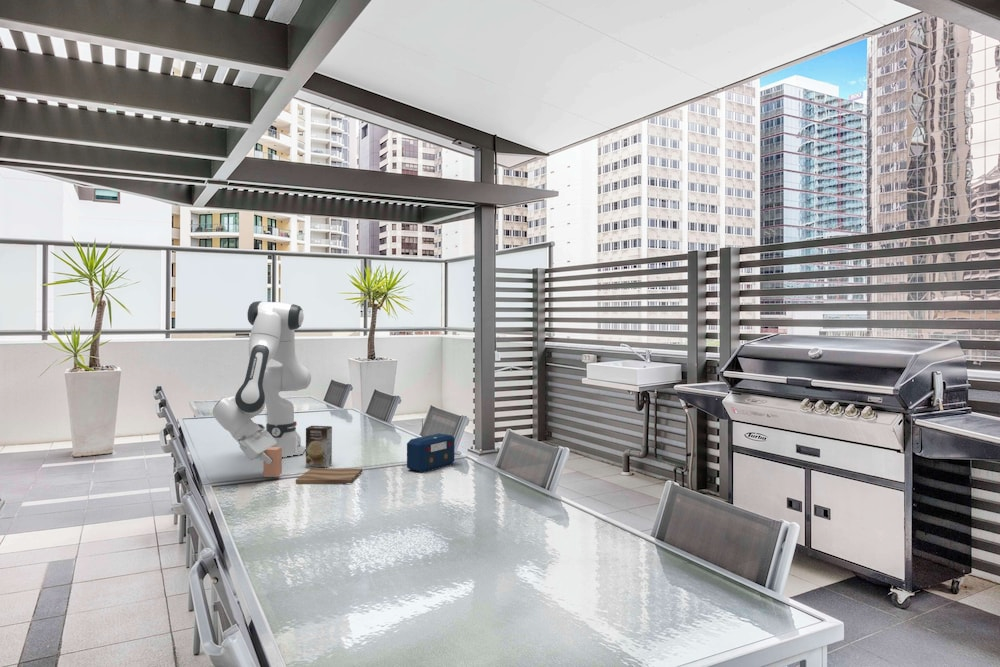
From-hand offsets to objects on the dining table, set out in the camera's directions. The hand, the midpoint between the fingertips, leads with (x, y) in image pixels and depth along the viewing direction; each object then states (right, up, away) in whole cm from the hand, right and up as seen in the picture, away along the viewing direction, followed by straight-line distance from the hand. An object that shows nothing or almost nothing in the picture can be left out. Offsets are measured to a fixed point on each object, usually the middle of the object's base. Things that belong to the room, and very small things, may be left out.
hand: (274, 460), depth 239 cm
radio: (+57, -7, +19) cm, 60 cm away
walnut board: (+20, -7, +2) cm, 22 cm away
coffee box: (+11, -7, +21) cm, 24 cm away
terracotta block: (-1, -5, 0) cm, 5 cm away
